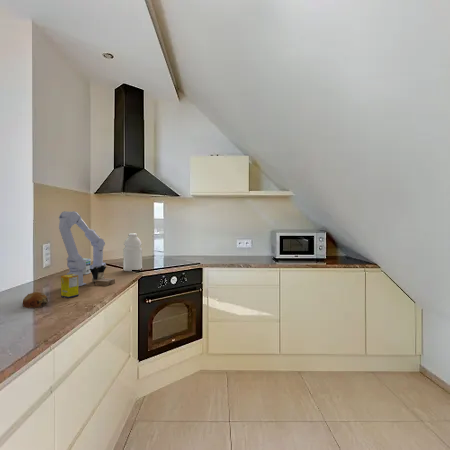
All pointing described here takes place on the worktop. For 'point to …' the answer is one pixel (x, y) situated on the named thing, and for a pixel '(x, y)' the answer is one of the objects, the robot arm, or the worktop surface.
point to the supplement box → (69, 286)
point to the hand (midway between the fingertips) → (97, 278)
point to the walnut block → (105, 281)
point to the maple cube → (100, 276)
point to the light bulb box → (87, 265)
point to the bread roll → (35, 300)
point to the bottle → (132, 253)
